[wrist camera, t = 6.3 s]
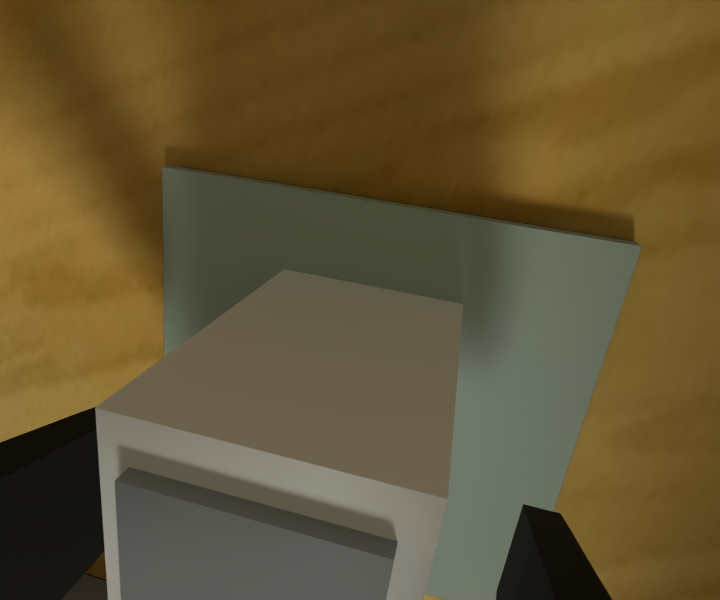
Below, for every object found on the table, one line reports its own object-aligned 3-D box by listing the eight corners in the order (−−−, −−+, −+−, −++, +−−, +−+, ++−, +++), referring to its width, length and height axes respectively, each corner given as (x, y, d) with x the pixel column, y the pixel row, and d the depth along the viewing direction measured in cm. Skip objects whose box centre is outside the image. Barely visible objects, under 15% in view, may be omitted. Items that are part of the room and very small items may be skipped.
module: (463, 303, 11) (445, 517, 5) (409, 553, 13) (355, 893, 7) (284, 269, 11) (79, 419, 5) (264, 512, 14) (109, 795, 8)
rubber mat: (635, 241, 10) (641, 246, 9) (515, 606, 13) (516, 620, 13) (172, 165, 11) (162, 166, 11) (174, 508, 15) (166, 518, 15)
